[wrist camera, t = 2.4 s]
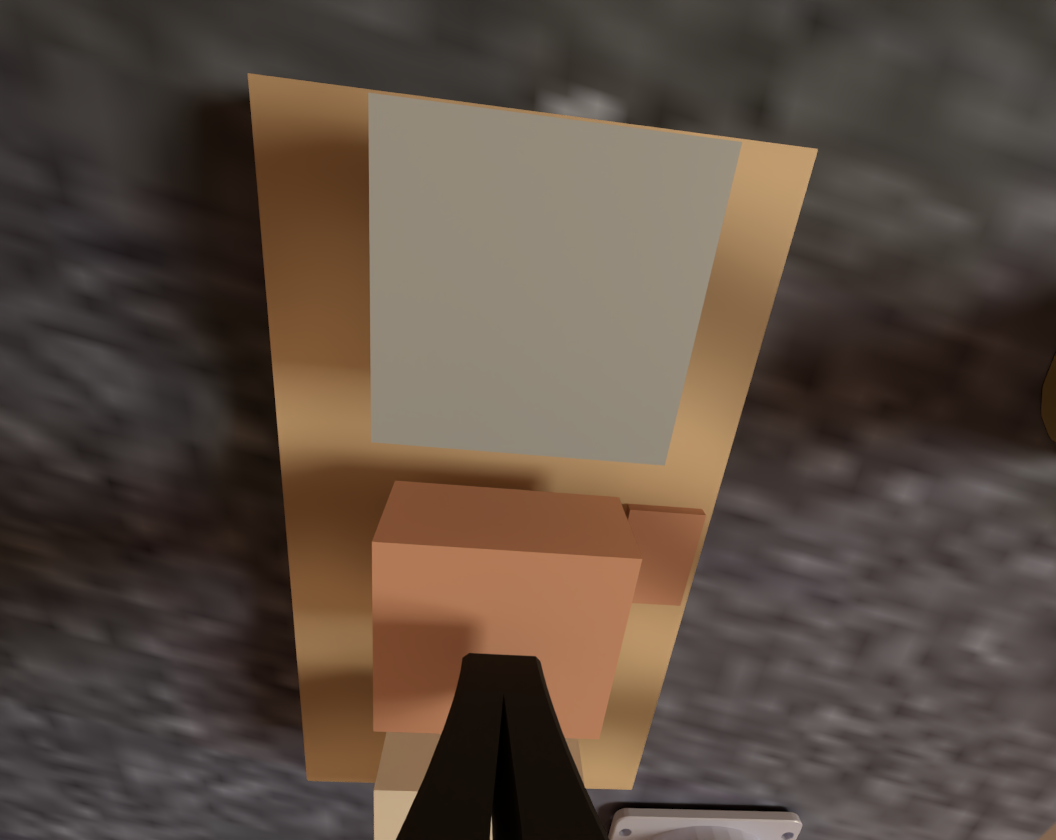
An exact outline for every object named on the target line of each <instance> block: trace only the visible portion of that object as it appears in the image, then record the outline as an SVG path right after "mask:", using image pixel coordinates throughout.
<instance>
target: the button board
mask: <svg viewBox="0 0 1056 840" xmlns="http://www.w3.org/2000/svg"><path fill="white" fill-rule="evenodd" d="M248 83H249V95H250V107H251V118H252V130H253V142H254V154H255V166H256V178H257V190H258V202H259V214H260V225H261V237H262V249H263V261H264V273H265V285H266V297H267V309H268V321H269V332H270V344H271V356H272V368H273V380H274V392H275V404H276V416H277V428H278V439H279V451H280V463H281V475H282V487H283V499H284V511H285V523H286V535H287V546H288V558H289V570H290V582H291V594H292V606H293V618H294V630H295V642H296V653H297V665H298V677H299V689H300V701H301V713H302V725H303V737H304V749H305V760H306V772H307V781H333V782H369V783H375V782H376V778H377V773H378V769H379V764H380V760H381V755H382V750H383V746H384V741H385V737H386V732H376V731H373V624H372V540H373V538H374V535H375V532H376V530H377V527H378V524H379V522H380V519H381V516H382V514H383V511H384V509H385V506H386V503H387V501H388V498H389V495H390V493H391V490H392V487H393V485H394V482H395V481H407V482H421V483H434V484H448V485H461V486H475V487H489V488H502V489H516V490H529V491H543V492H556V493H570V494H584V495H597V496H611V497H619V499H620V501H621V504H622V507H623V509H624V512H625V515H626V517H627V520H628V522H629V525H630V528H631V530H632V533H633V536H634V538H635V541H636V544H637V546H638V549H639V552H640V554H641V557H642V563H641V567H640V571H639V575H638V579H637V584H636V588H635V592H634V596H633V600H632V605H631V609H630V613H629V617H628V621H627V625H626V630H625V634H624V638H623V642H622V646H621V651H620V655H619V659H618V663H617V667H616V671H615V676H614V680H613V684H612V688H611V692H610V696H609V701H608V705H607V709H606V713H605V717H604V722H603V726H602V730H601V734H600V738H599V739H578V742H579V750H580V757H581V765H582V772H583V779H584V786H585V788H589V789H625V790H632V787H633V784H634V780H635V777H636V773H637V770H638V766H639V763H640V760H641V756H642V753H643V749H644V746H645V742H646V739H647V736H648V732H649V729H650V725H651V722H652V718H653V715H654V712H655V708H656V705H657V701H658V698H659V694H660V691H661V687H662V684H663V681H664V677H665V674H666V670H667V667H668V663H669V660H670V657H671V653H672V650H673V646H674V643H675V639H676V636H677V632H678V629H679V626H680V622H681V619H682V615H683V612H684V608H685V605H686V602H687V598H688V595H689V591H690V588H691V584H692V581H693V577H694V574H695V571H696V567H697V564H698V560H699V557H700V553H701V550H702V547H703V543H704V540H705V536H706V533H707V529H708V526H709V522H710V519H711V516H712V512H713V509H714V505H715V502H716V498H717V495H718V492H719V488H720V485H721V481H722V478H723V474H724V471H725V468H726V464H727V461H728V457H729V454H730V450H731V447H732V443H733V440H734V437H735V433H736V430H737V426H738V423H739V419H740V416H741V413H742V409H743V406H744V402H745V399H746V395H747V392H748V388H749V385H750V382H751V378H752V375H753V371H754V368H755V364H756V361H757V358H758V354H759V351H760V347H761V344H762V340H763V337H764V333H765V330H766V327H767V323H768V320H769V316H770V313H771V309H772V306H773V303H774V299H775V296H776V292H777V289H778V285H779V282H780V278H781V275H782V272H783V268H784V265H785V261H786V258H787V254H788V251H789V248H790V244H791V241H792V237H793V234H794V230H795V227H796V224H797V220H798V217H799V213H800V210H801V206H802V203H803V199H804V196H805V193H806V189H807V186H808V182H809V179H810V175H811V172H812V169H813V165H814V162H815V158H816V155H817V151H818V149H813V148H806V147H798V146H791V145H783V144H776V143H768V142H761V141H753V140H746V139H738V138H731V137H723V136H716V135H708V134H701V133H693V132H686V131H678V130H670V129H663V128H655V127H648V126H640V125H633V124H625V123H618V122H610V121H603V120H595V119H588V118H580V117H573V116H565V115H558V114H550V113H543V112H535V111H527V110H520V109H512V108H505V107H497V106H490V105H482V104H475V103H467V102H460V101H452V100H445V99H437V98H430V97H422V96H415V95H407V94H400V93H392V92H385V91H377V90H369V89H362V88H354V87H347V86H339V85H332V84H324V83H317V82H309V81H302V80H294V79H287V78H279V77H272V76H264V75H257V74H249V73H248ZM368 93H375V94H383V95H390V96H398V97H405V98H413V99H421V100H428V101H436V102H443V103H451V104H458V105H466V106H473V107H481V108H489V109H496V110H504V111H511V112H519V113H526V114H534V115H541V116H549V117H557V118H564V119H572V120H579V121H587V122H594V123H602V124H609V125H617V126H625V127H632V128H640V129H647V130H655V131H662V132H670V133H677V134H685V135H692V136H700V137H708V138H715V139H723V140H730V141H738V142H742V145H741V149H740V153H739V158H738V162H737V166H736V170H735V174H734V178H733V183H732V187H731V191H730V195H729V199H728V203H727V208H726V212H725V216H724V220H723V224H722V229H721V233H720V237H719V241H718V245H717V249H716V254H715V258H714V262H713V266H712V270H711V274H710V279H709V283H708V287H707V291H706V295H705V300H704V304H703V308H702V312H701V316H700V320H699V325H698V329H697V333H696V337H695V341H694V346H693V350H692V354H691V358H690V362H689V366H688V371H687V375H686V379H685V383H684V387H683V391H682V396H681V400H680V404H679V408H678V412H677V417H676V421H675V425H674V429H673V433H672V437H671V442H670V446H669V450H668V454H667V458H666V463H665V465H652V464H639V463H627V462H614V461H601V460H589V459H576V458H564V457H551V456H538V455H526V454H513V453H500V452H488V451H475V450H462V449H450V448H437V447H425V446H412V445H399V444H387V443H374V442H371V369H370V241H369V113H368Z"/></svg>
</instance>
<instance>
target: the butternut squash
mask: <svg viewBox="0 0 1056 840" xmlns="http://www.w3.org/2000/svg"><path fill="white" fill-rule="evenodd" d="M1041 416H1042V419H1043V422H1044V424H1045V427H1046V430H1047V432H1048V435H1049V438H1051V439H1052V440H1053V441H1054V442H1055V443H1056V354H1055V356H1054V358H1053V361H1052V363H1051V366H1050V369H1049V371H1048V374H1047V376H1046V379H1045V381H1044V384H1043V389H1042V405H1041Z"/></svg>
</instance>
